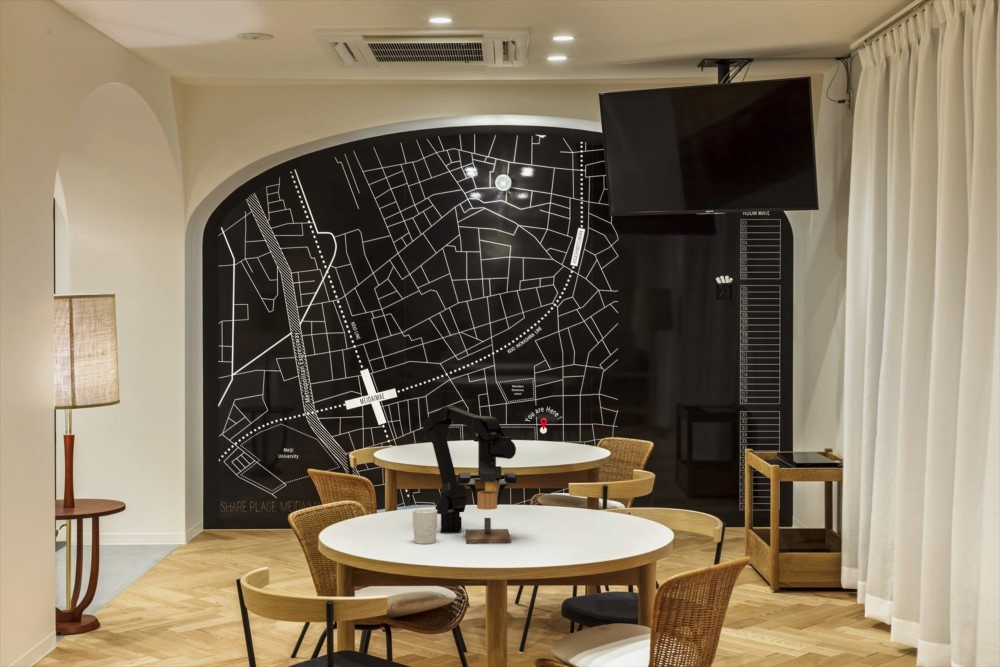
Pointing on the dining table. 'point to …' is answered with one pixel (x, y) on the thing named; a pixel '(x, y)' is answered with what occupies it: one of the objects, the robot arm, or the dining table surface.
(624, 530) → the dining table surface
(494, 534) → the brown piece
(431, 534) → the white cup
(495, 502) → the orange short hollow cylinder
